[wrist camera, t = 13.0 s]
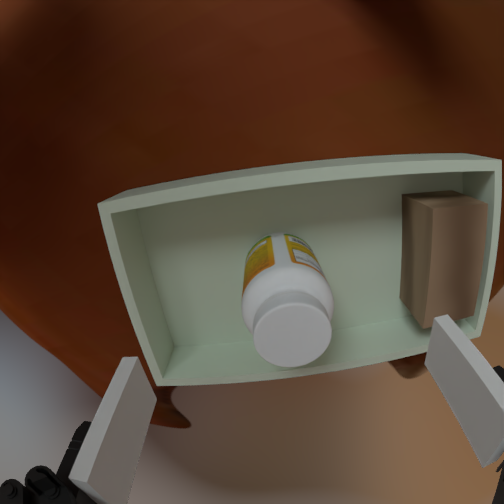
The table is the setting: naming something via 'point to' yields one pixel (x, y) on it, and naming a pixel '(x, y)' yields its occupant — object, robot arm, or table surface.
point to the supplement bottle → (286, 301)
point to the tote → (290, 221)
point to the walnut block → (441, 254)
